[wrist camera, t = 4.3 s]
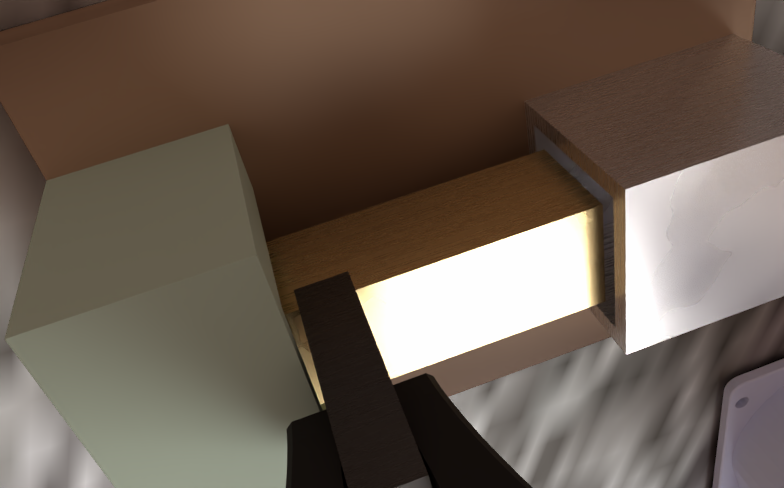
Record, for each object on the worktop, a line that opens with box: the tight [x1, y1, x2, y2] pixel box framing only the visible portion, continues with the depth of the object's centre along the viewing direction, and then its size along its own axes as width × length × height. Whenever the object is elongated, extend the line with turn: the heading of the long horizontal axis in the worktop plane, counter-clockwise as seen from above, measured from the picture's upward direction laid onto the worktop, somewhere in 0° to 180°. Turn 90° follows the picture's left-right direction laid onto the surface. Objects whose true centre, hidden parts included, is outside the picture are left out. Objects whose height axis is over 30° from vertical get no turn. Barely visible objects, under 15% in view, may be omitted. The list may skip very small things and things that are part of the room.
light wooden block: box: [266, 149, 606, 488], centre depth 12 cm, size 3×8×7 cm, turn 102°
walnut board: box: [0, 0, 756, 397], centre depth 16 cm, size 12×15×1 cm
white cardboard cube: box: [524, 34, 784, 355], centre depth 15 cm, size 4×5×4 cm
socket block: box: [5, 124, 326, 488], centre depth 13 cm, size 7×4×5 cm, turn 12°
